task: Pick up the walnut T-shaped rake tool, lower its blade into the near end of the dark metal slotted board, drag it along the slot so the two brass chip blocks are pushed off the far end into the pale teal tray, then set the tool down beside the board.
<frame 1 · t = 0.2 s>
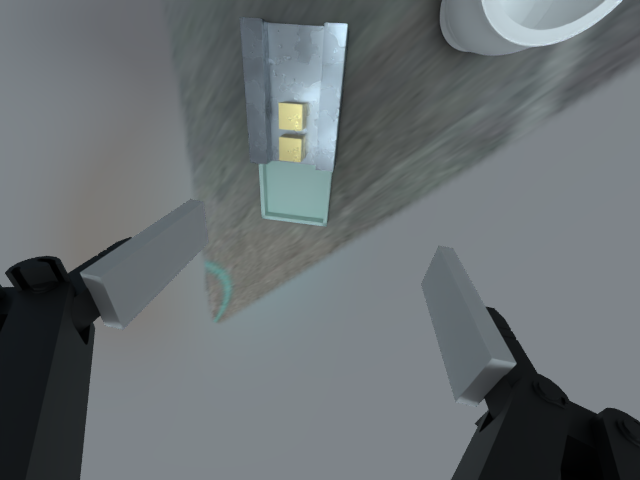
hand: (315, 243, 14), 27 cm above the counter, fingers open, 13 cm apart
chip a: (295, 114, 35), point 2 cm above the counter, touching slot board
slot board: (299, 101, 36), on the counter
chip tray: (296, 190, 42), on the counter
jar: (478, 4, 28), on the counter
chip b: (295, 145, 37), point 2 cm above the counter, touching slot board
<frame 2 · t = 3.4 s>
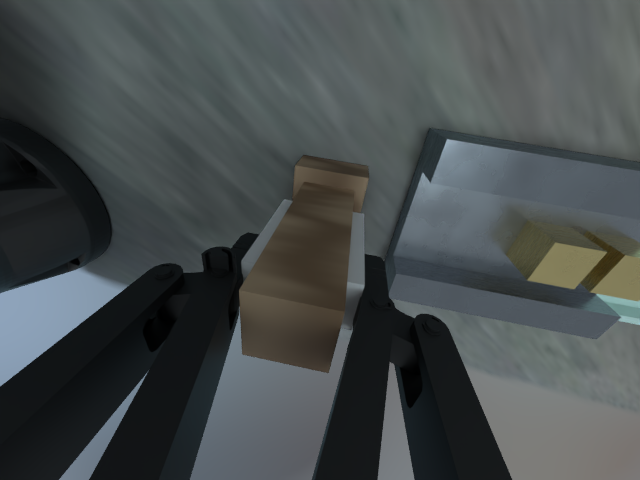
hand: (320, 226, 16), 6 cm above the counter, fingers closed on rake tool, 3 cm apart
chip a: (537, 242, 18), point 2 cm above the counter, touching slot board
slot board: (503, 225, 20), on the counter
rake tool: (330, 193, 21), on the counter, touching gripper
chip b: (594, 252, 18), point 2 cm above the counter, touching slot board
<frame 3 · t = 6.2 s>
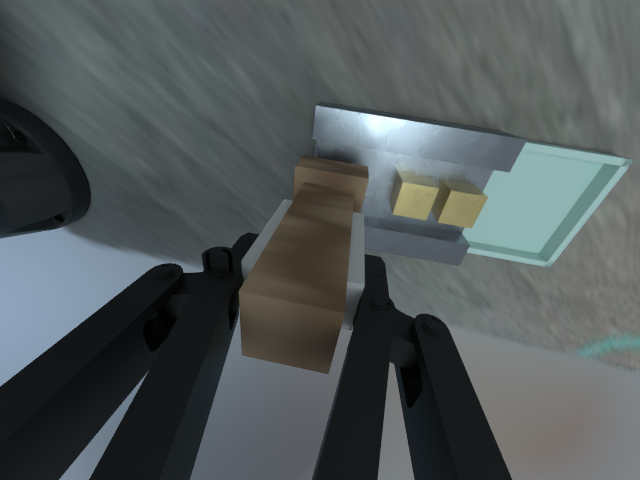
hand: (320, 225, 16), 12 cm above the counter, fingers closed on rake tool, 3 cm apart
chip a: (409, 189, 24), point 2 cm above the counter, touching slot board
slot board: (391, 180, 26), on the counter
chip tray: (520, 202, 26), on the counter
rake tool: (330, 194, 21), point 6 cm above the counter, touching gripper
chip b: (451, 197, 24), point 2 cm above the counter, touching slot board
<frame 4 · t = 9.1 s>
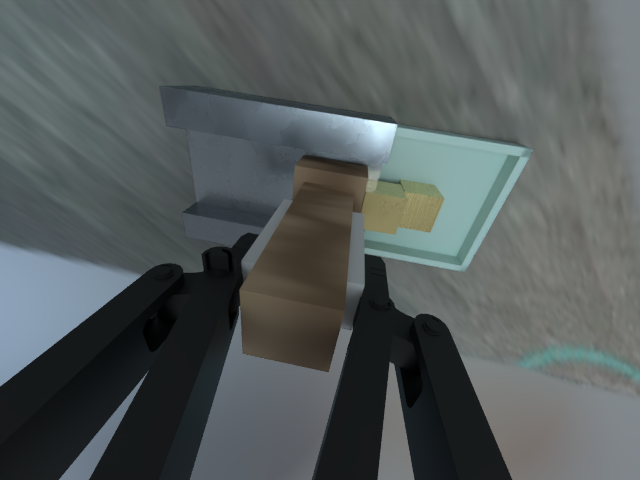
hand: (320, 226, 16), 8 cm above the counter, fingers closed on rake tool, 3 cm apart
chip a: (377, 198, 21), point 2 cm above the counter, touching slot board
slot board: (286, 174, 23), on the counter
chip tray: (427, 199, 23), on the counter
rake tool: (330, 193, 21), point 3 cm above the counter, touching gripper
chip b: (396, 202, 21), point 2 cm above the counter, tilted 90°, touching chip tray
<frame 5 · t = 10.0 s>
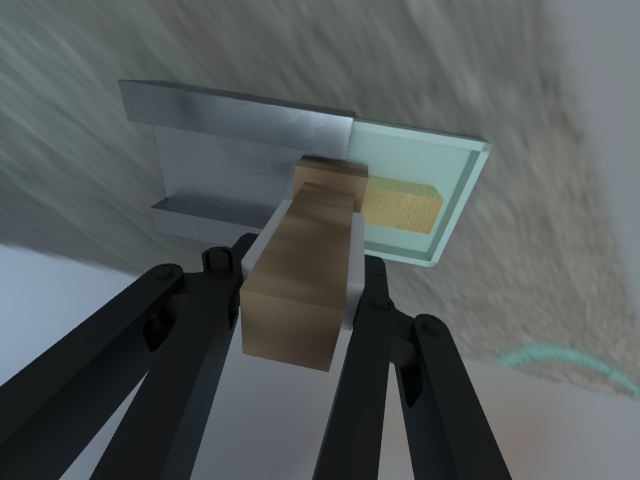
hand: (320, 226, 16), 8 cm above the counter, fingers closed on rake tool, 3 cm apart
chip a: (377, 193, 22), point 1 cm above the counter, touching chip b, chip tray, rake tool
slot board: (256, 170, 24), on the counter
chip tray: (396, 195, 23), on the counter
rake tool: (330, 193, 21), point 2 cm above the counter, touching chip a, gripper
chip b: (395, 203, 21), point 2 cm above the counter, tilted 90°, touching chip a, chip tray
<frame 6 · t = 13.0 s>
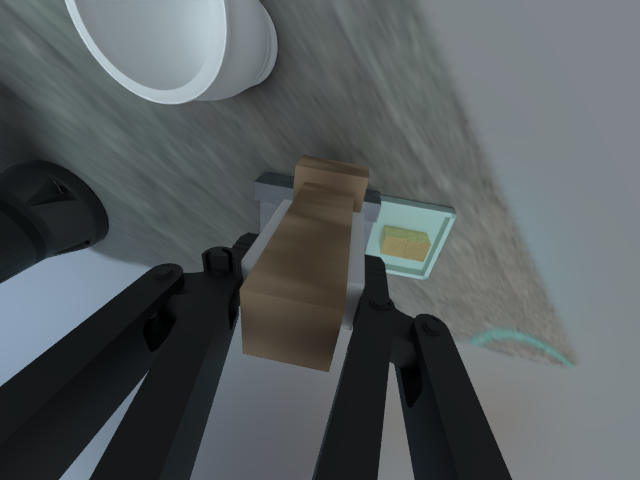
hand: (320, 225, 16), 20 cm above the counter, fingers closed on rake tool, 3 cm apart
chip a: (391, 235, 37), resting on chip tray
slot board: (316, 220, 38), on the counter
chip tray: (402, 236, 37), on the counter
jar: (241, 43, 28), on the counter
rake tool: (330, 193, 21), point 14 cm above the counter, touching gripper
chip b: (403, 243, 36), point 2 cm above the counter, tilted 90°, touching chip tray
when the fingers open (7 cm above the counter, at t = 15.3 s): rake tool drops 1 cm, on the counter.
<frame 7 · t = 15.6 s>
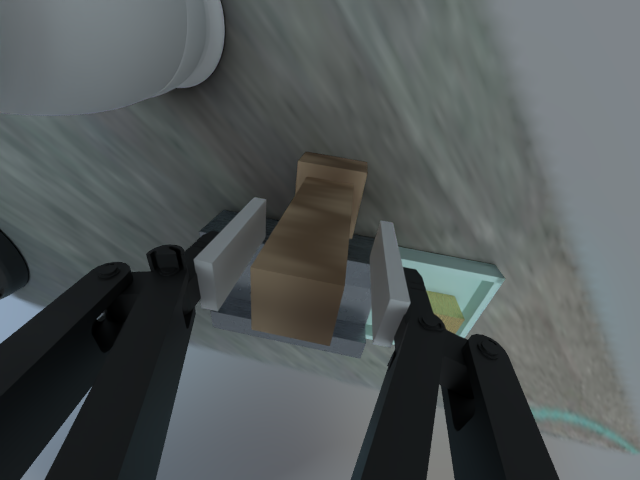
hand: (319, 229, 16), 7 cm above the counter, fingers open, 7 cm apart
slot board: (298, 273, 27), on the counter
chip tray: (420, 297, 27), on the counter
jar: (168, 17, 17), on the counter
rake tool: (331, 189, 22), on the counter
chip b: (422, 311, 25), point 2 cm above the counter, tilted 90°, touching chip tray
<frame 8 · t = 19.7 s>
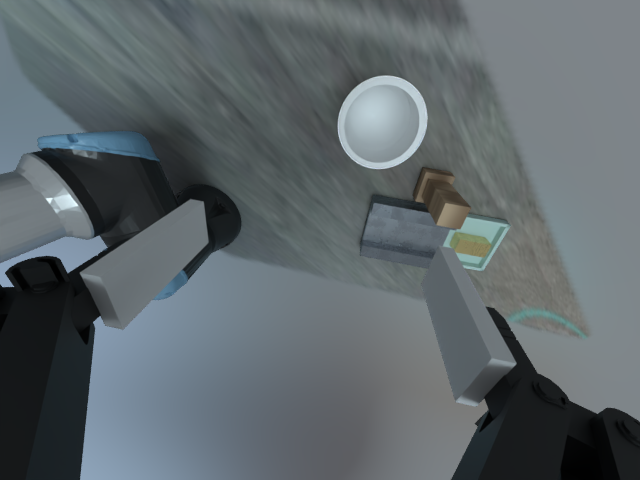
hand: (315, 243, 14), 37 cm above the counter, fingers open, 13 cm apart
chip a: (459, 239, 52), resting on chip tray
slot board: (404, 228, 53), on the counter
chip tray: (467, 239, 52), on the counter
jar: (375, 114, 43), on the counter
rake tool: (430, 184, 48), on the counter
chip b: (469, 244, 51), point 2 cm above the counter, tilted 90°, touching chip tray
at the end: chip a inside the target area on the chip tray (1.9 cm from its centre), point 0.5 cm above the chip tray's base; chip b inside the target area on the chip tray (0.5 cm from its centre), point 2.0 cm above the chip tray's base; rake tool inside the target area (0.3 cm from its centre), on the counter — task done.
